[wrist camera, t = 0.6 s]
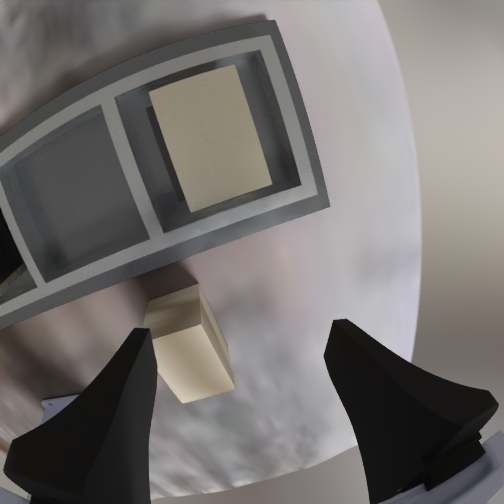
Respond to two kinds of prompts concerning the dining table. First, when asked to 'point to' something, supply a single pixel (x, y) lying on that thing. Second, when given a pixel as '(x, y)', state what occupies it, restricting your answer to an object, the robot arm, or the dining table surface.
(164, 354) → the birch block
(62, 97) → the rail
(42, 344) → the dining table surface
